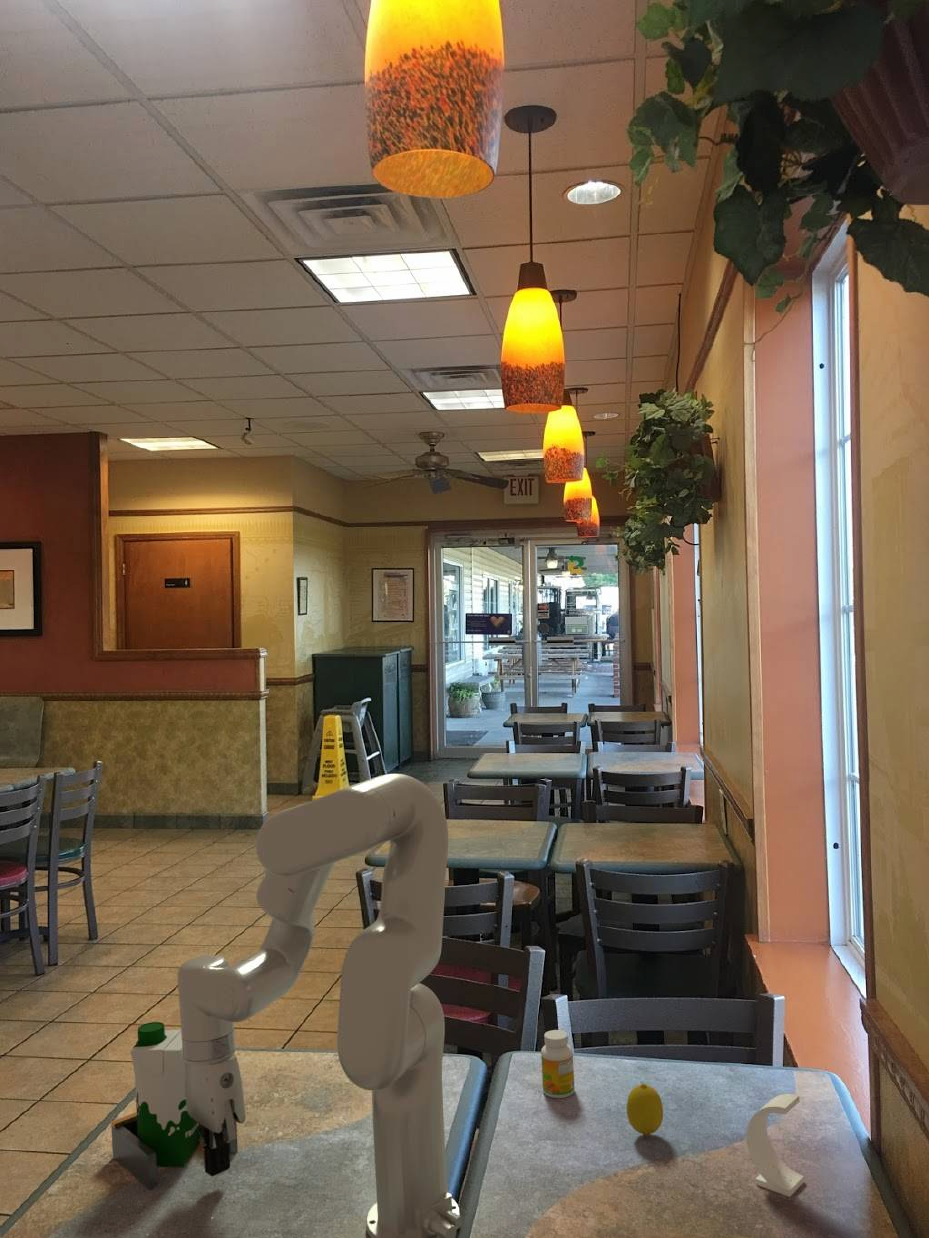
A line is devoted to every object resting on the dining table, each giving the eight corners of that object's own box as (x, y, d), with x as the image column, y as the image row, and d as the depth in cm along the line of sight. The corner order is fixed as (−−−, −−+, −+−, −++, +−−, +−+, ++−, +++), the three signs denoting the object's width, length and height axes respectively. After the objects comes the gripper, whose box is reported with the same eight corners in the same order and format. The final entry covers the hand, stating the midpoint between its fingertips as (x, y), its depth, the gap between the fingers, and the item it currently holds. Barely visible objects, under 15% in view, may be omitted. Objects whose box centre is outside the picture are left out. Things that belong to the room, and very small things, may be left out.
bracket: (237, 1151, 154) (236, 1115, 154) (149, 1190, 144) (147, 1151, 145) (197, 1123, 164) (196, 1089, 164) (112, 1157, 154) (111, 1121, 154)
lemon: (623, 1141, 151) (620, 1088, 151) (634, 1124, 156) (631, 1073, 156) (658, 1148, 149) (655, 1094, 149) (668, 1130, 154) (666, 1079, 154)
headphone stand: (789, 1197, 134) (784, 1108, 135) (748, 1182, 139) (744, 1095, 139) (804, 1181, 138) (799, 1095, 138) (763, 1167, 142) (759, 1083, 142)
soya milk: (153, 1140, 159) (148, 1016, 159) (208, 1140, 158) (202, 1015, 158) (130, 1170, 150) (124, 1038, 150) (188, 1170, 149) (181, 1037, 150)
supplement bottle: (537, 1089, 170) (534, 1032, 170) (564, 1081, 172) (561, 1025, 172) (553, 1101, 165) (549, 1043, 165) (580, 1094, 167) (577, 1036, 167)
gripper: (257, 1048, 142) (266, 1177, 142) (208, 1024, 153) (216, 1144, 153) (210, 1066, 137) (219, 1200, 137) (162, 1040, 148) (170, 1164, 148)
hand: (217, 1170), depth 145 cm, fingers closed
